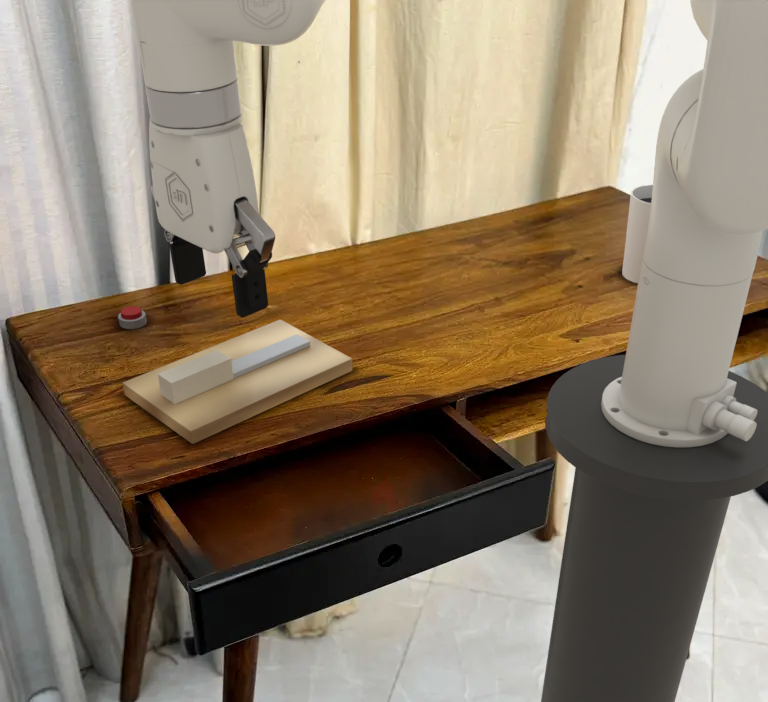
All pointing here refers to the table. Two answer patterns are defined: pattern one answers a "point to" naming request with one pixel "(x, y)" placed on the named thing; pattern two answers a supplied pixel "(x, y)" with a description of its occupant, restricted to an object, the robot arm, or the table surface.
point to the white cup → (636, 231)
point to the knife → (221, 369)
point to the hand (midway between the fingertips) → (221, 295)
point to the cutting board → (241, 383)
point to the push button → (132, 317)
